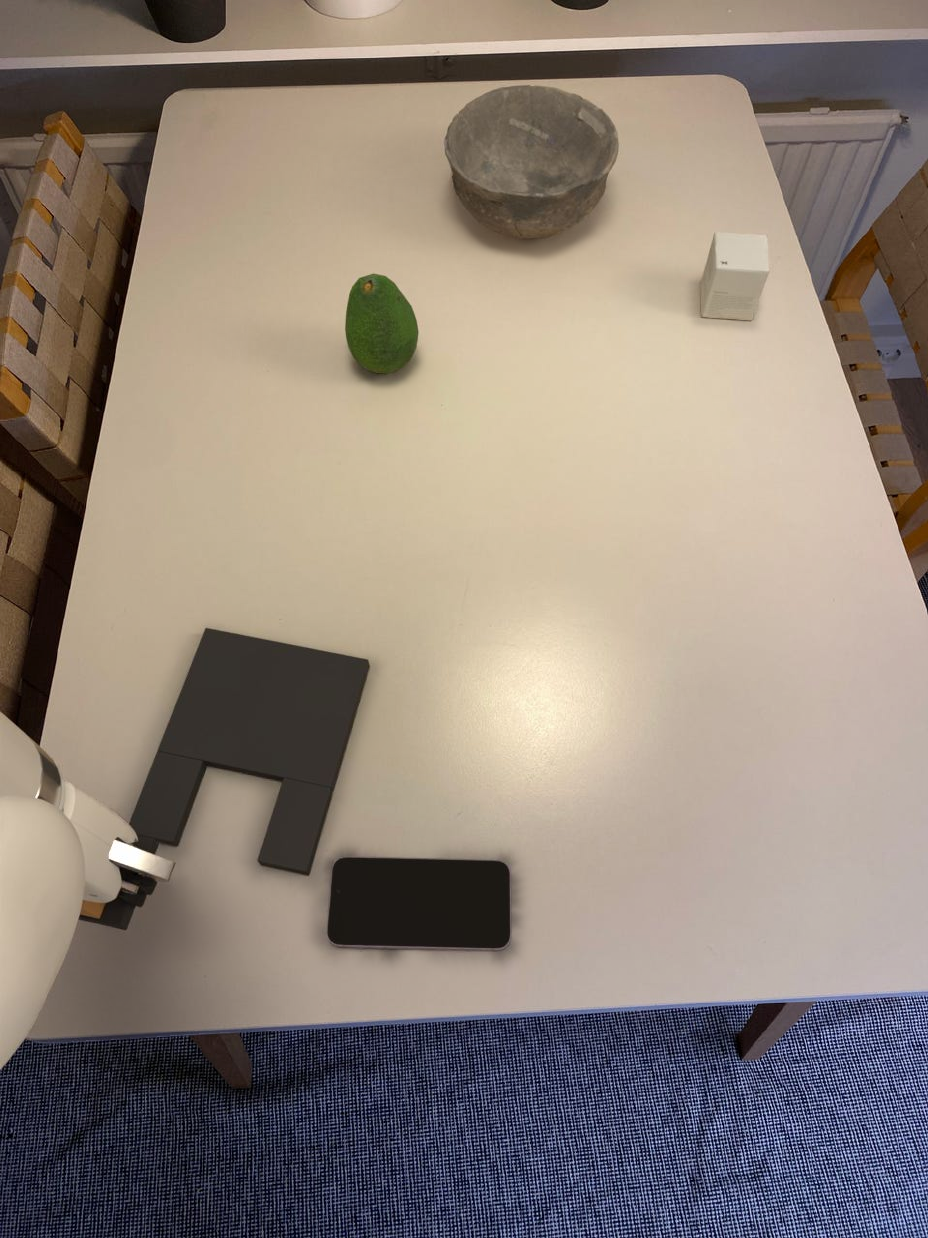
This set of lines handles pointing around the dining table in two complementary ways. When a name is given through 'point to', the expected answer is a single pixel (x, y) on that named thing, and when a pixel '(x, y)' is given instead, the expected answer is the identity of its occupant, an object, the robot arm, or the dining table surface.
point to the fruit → (380, 325)
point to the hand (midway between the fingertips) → (99, 875)
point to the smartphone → (419, 903)
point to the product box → (734, 275)
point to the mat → (257, 738)
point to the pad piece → (117, 909)
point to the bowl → (530, 159)
